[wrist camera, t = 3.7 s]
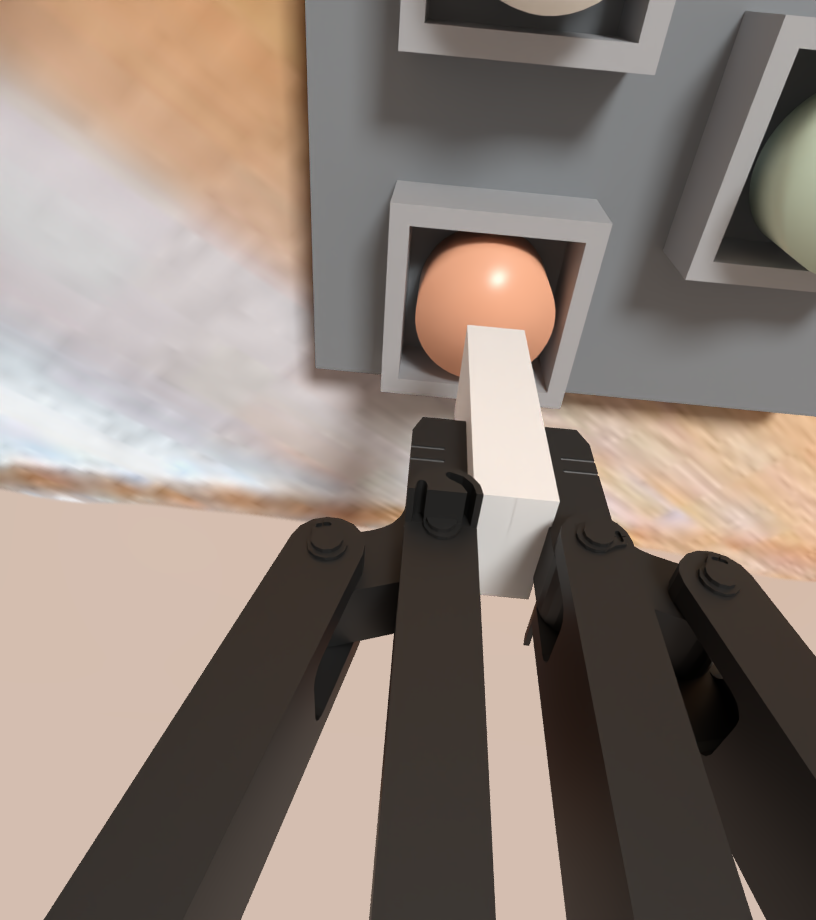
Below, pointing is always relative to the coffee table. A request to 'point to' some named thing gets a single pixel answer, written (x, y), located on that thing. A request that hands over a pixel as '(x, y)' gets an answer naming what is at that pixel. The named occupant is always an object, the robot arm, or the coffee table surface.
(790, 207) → the sage button
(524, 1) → the cream button
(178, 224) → the coffee table surface
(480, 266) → the terracotta button
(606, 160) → the panel
